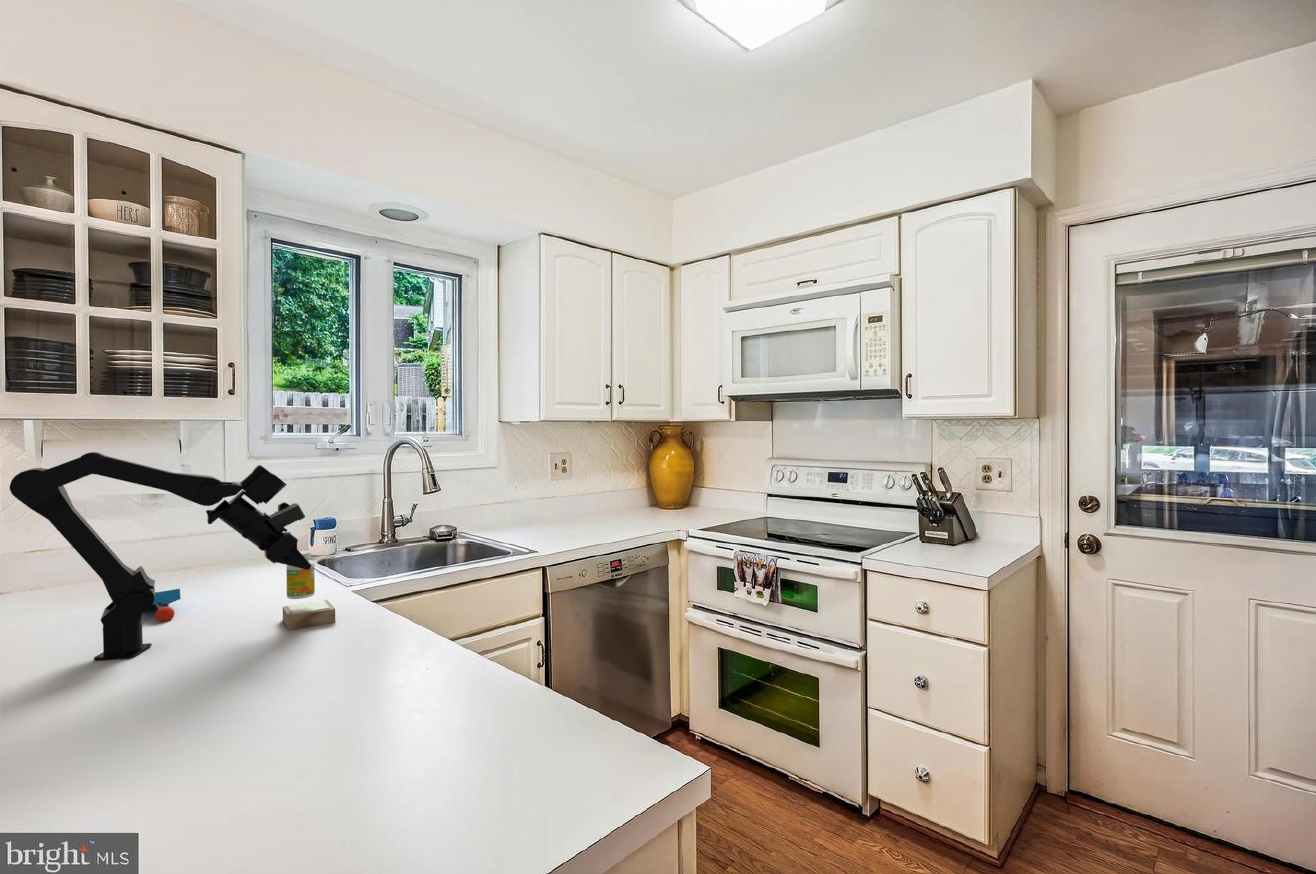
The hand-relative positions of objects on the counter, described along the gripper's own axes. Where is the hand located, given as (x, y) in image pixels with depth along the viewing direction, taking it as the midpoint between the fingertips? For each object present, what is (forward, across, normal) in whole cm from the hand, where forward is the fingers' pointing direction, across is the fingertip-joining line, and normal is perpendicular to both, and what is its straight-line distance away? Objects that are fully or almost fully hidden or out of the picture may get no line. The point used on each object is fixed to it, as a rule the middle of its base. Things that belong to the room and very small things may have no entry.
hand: (307, 565), depth 139 cm
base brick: (+9, 0, +9) cm, 12 cm away
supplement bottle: (+4, 0, +6) cm, 7 cm away
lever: (-10, +29, +28) cm, 41 cm away
